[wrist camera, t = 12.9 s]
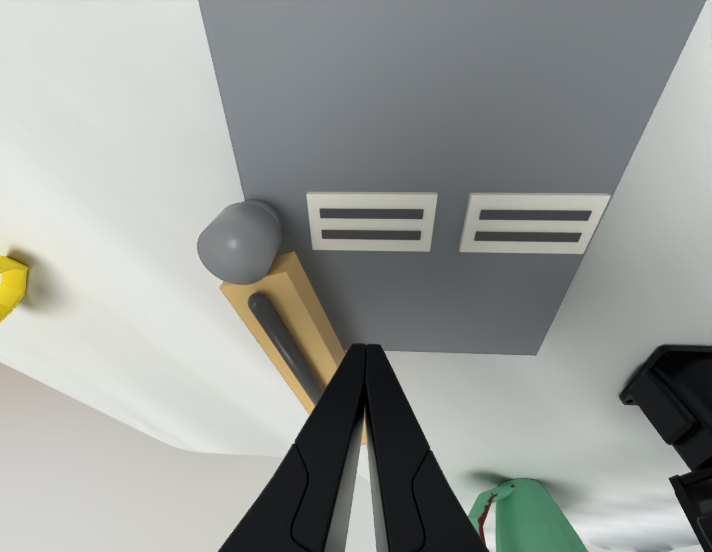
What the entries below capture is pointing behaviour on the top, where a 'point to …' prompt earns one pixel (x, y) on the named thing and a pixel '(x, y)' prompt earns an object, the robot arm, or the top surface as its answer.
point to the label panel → (440, 150)
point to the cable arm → (273, 298)
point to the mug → (525, 519)
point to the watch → (11, 285)
